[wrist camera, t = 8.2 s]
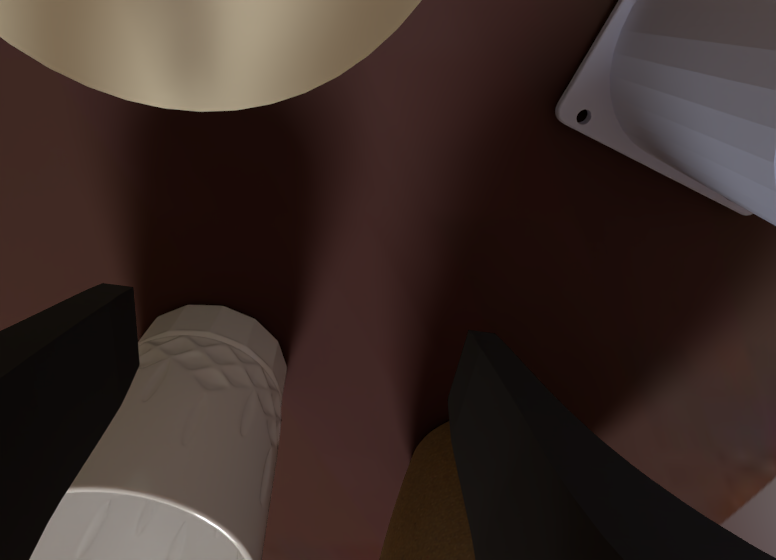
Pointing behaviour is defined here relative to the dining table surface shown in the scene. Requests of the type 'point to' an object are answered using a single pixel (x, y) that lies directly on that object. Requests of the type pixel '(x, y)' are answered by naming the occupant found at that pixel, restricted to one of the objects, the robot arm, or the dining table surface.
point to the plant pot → (430, 507)
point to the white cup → (182, 449)
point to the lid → (201, 45)
